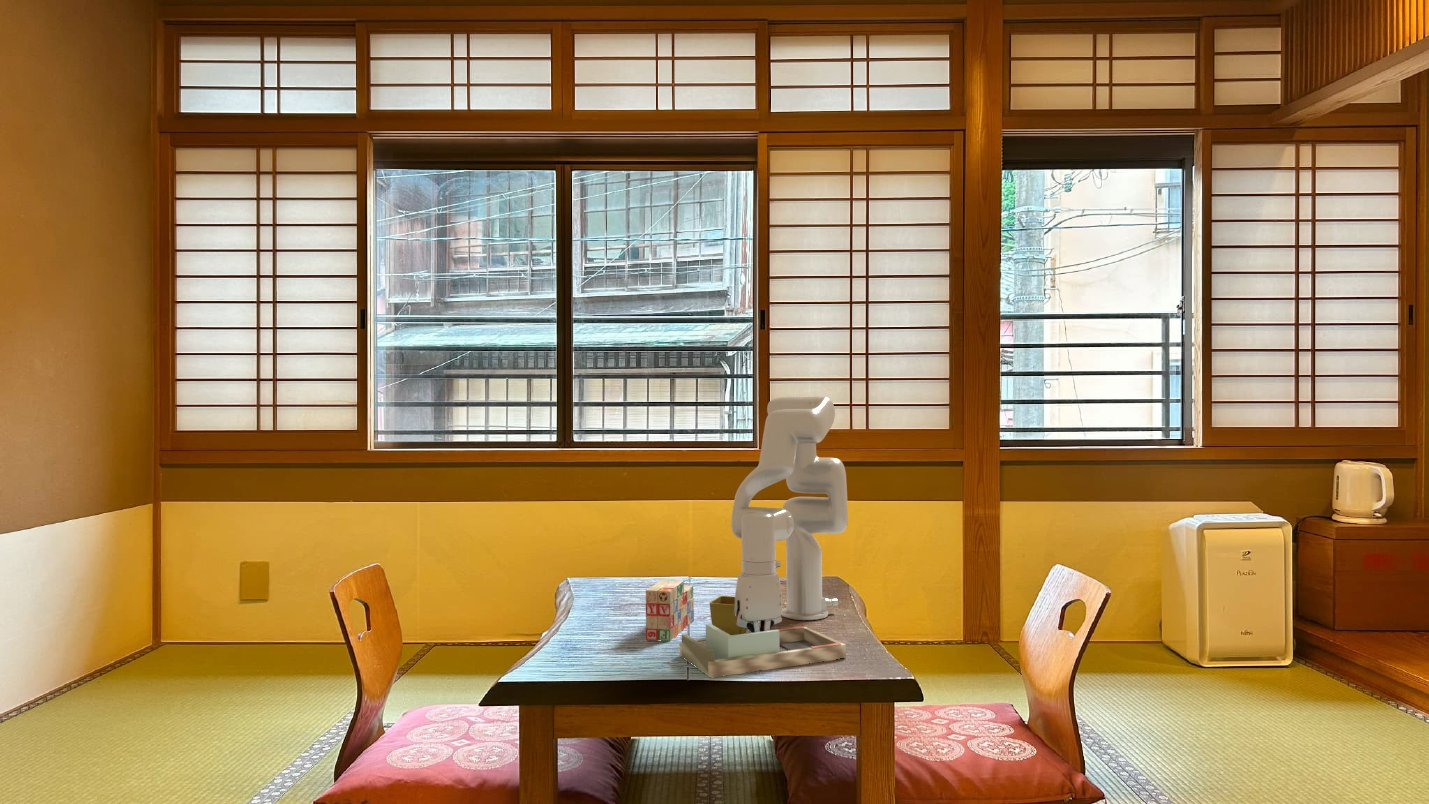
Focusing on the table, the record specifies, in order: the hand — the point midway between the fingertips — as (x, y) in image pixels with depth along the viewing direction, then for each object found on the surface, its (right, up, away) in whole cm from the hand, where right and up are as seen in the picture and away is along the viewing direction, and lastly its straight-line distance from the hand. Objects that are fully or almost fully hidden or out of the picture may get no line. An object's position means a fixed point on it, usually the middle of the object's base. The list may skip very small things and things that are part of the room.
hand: (759, 651), depth 183 cm
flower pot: (-6, -2, +17) cm, 18 cm away
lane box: (+1, -1, 0) cm, 2 cm away
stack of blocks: (-21, -3, +25) cm, 33 cm away
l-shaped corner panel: (-4, -2, -3) cm, 5 cm away
